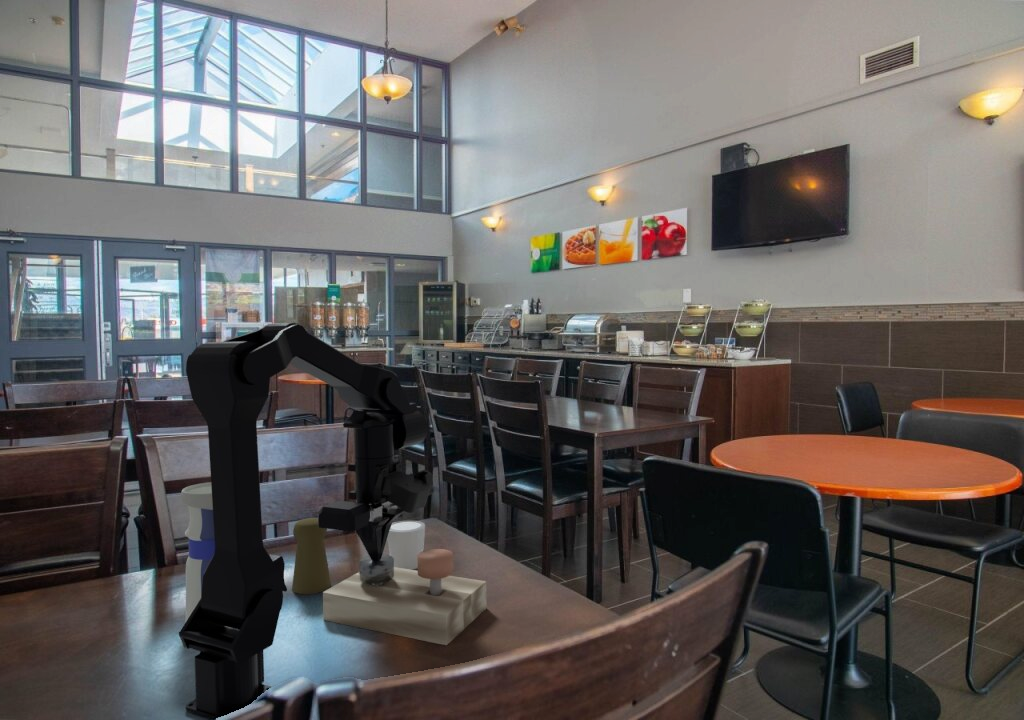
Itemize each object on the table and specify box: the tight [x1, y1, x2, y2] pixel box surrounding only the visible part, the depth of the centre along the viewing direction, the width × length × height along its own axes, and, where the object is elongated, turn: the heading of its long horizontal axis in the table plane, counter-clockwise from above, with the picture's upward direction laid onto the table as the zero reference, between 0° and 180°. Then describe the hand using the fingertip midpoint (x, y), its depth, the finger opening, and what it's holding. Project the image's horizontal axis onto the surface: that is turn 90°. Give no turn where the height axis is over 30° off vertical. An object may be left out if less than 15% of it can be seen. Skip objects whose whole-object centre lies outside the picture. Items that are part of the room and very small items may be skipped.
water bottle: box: [179, 481, 234, 629], centre depth 88 cm, size 8×9×25 cm
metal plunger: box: [358, 554, 394, 586], centre depth 92 cm, size 5×5×6 cm
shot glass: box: [387, 520, 426, 570], centre depth 110 cm, size 7×7×7 cm
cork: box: [291, 517, 332, 595], centre depth 101 cm, size 6×6×11 cm
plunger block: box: [322, 567, 488, 646], centre depth 90 cm, size 12×20×4 cm, turn 67°
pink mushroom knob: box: [417, 548, 454, 596], centre depth 88 cm, size 5×5×6 cm
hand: (376, 560), depth 92 cm, fingers closed, pressing on metal plunger
